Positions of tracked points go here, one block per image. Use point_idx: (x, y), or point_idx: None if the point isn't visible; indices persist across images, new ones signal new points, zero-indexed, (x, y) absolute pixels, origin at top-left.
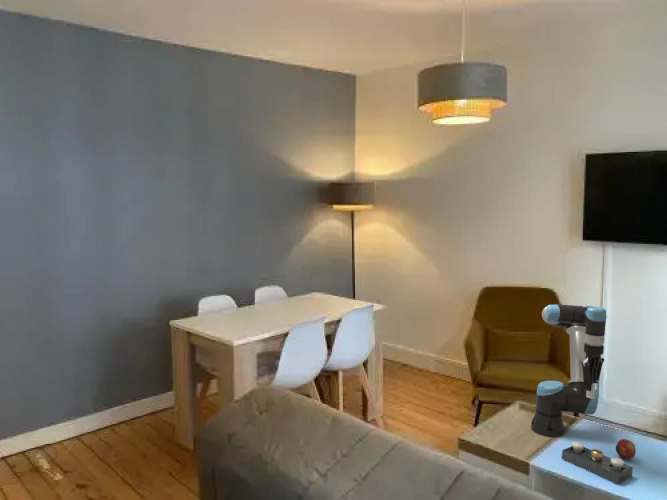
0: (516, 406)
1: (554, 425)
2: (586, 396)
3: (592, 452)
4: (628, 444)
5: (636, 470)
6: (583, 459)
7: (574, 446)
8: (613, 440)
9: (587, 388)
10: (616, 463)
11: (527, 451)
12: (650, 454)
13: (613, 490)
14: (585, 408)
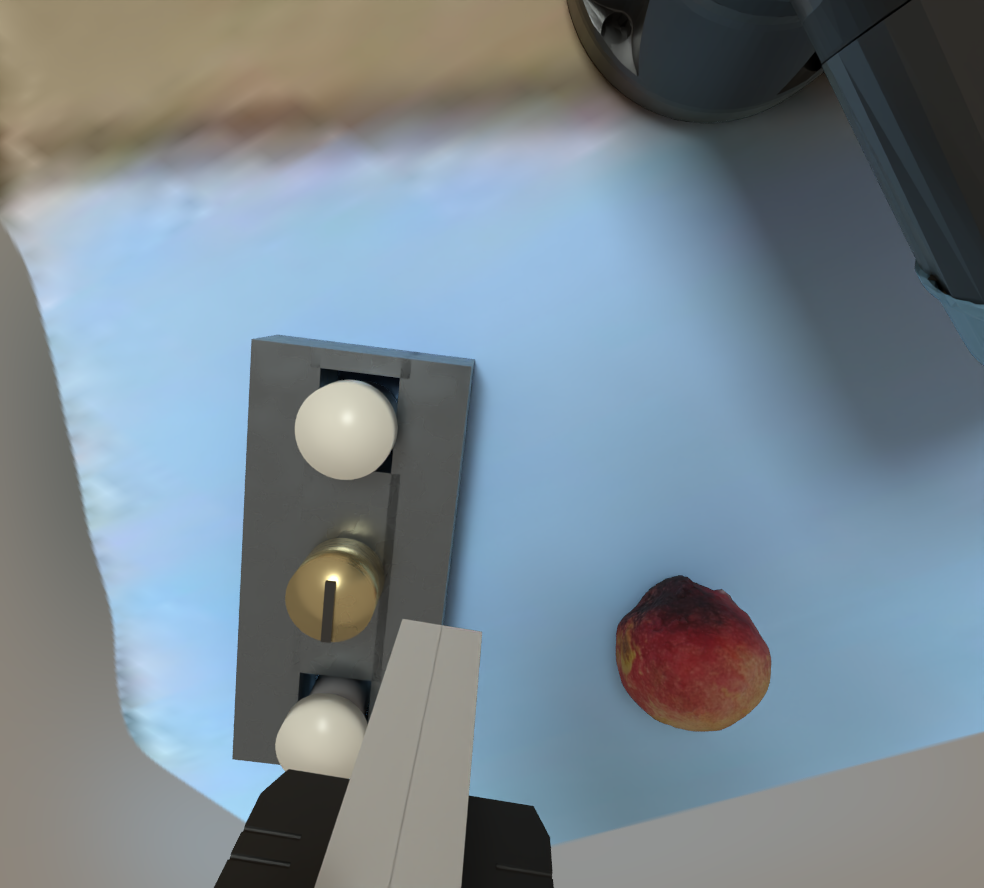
0: None
1: (652, 33)
2: (397, 634)
3: (291, 580)
4: (669, 711)
5: (543, 724)
6: (243, 521)
7: (297, 422)
8: (928, 449)
9: (248, 845)
10: (280, 754)
11: (164, 80)
12: (868, 703)
13: (170, 727)
14: (934, 271)
